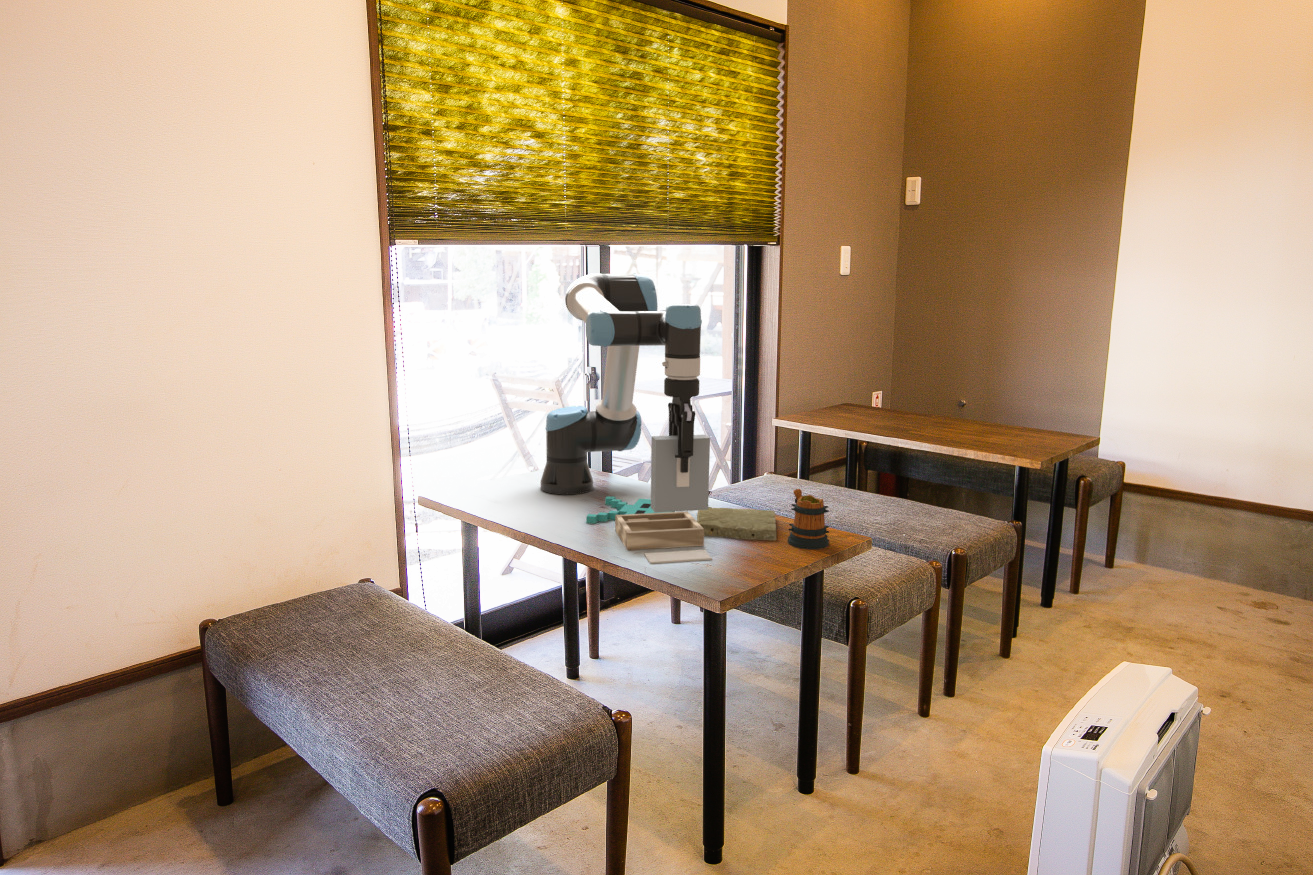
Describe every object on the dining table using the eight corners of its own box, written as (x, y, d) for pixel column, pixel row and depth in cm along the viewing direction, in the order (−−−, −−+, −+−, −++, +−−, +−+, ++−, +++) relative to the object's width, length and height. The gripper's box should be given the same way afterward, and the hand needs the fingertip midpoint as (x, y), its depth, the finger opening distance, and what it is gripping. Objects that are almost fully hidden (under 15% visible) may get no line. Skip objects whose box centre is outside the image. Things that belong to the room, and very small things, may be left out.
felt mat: (644, 554, 196) (644, 553, 196) (704, 551, 200) (704, 549, 199) (650, 563, 191) (650, 561, 190) (712, 559, 194) (712, 558, 194)
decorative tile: (697, 517, 228) (697, 504, 227) (775, 521, 226) (775, 507, 225) (692, 539, 210) (693, 525, 209) (777, 543, 208) (778, 528, 207)
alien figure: (586, 524, 220) (664, 530, 216) (586, 516, 220) (664, 522, 215) (607, 504, 239) (679, 509, 235) (607, 496, 239) (679, 501, 235)
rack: (615, 530, 214) (615, 514, 213) (686, 526, 218) (686, 511, 217) (627, 550, 199) (627, 533, 199) (703, 545, 204) (704, 528, 203)
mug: (837, 548, 203) (840, 499, 201) (797, 551, 201) (800, 502, 198) (812, 531, 216) (815, 486, 213) (774, 534, 213) (776, 488, 211)
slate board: (650, 507, 193) (651, 436, 190) (702, 504, 196) (704, 434, 193) (654, 512, 189) (655, 439, 186) (708, 509, 192) (710, 438, 189)
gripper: (655, 372, 195) (654, 475, 199) (675, 382, 178) (672, 494, 183) (688, 372, 196) (686, 474, 201) (710, 382, 180) (707, 492, 184)
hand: (679, 483), depth 192 cm, fingers closed on slate board, 4 cm apart
